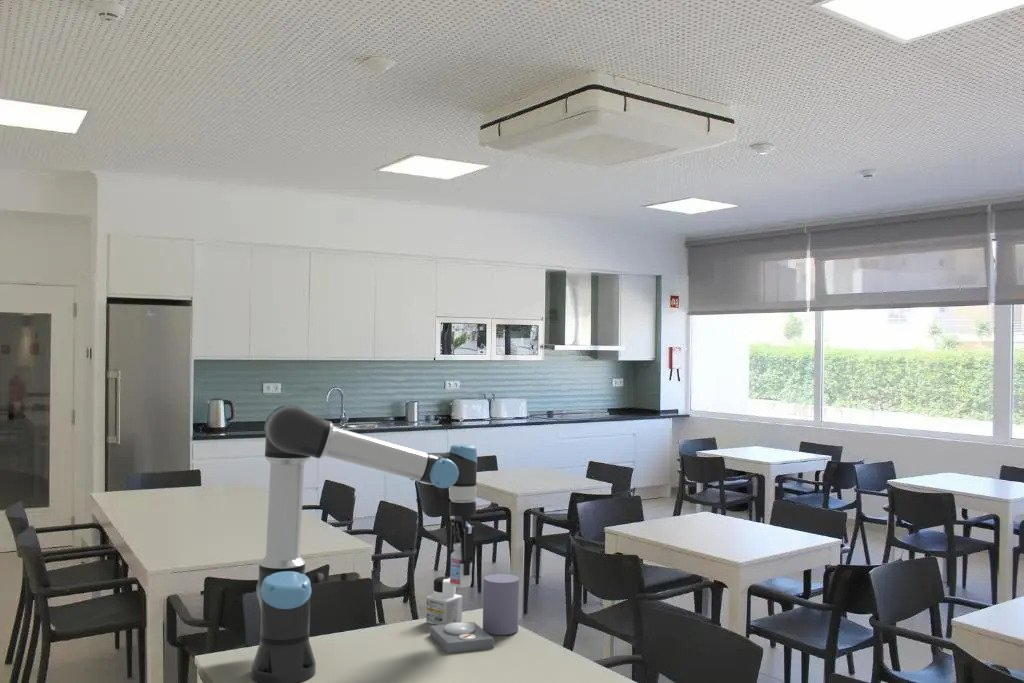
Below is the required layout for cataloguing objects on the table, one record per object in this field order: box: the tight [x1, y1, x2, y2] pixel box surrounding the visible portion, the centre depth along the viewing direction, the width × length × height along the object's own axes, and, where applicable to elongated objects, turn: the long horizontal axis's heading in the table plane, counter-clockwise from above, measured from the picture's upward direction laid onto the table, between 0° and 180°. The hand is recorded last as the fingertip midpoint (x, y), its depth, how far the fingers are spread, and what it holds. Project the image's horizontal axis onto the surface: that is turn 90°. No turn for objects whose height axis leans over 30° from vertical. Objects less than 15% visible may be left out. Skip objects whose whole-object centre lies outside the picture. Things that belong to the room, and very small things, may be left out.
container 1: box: [425, 576, 463, 626], centre depth 253 cm, size 8×8×13 cm
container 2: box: [482, 573, 520, 637], centre depth 245 cm, size 10×10×15 cm
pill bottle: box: [449, 543, 473, 588], centre depth 237 cm, size 6×6×11 cm
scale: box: [429, 621, 494, 654], centre depth 234 cm, size 13×16×4 cm
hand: (461, 583), depth 236 cm, fingers closed on pill bottle, 6 cm apart
